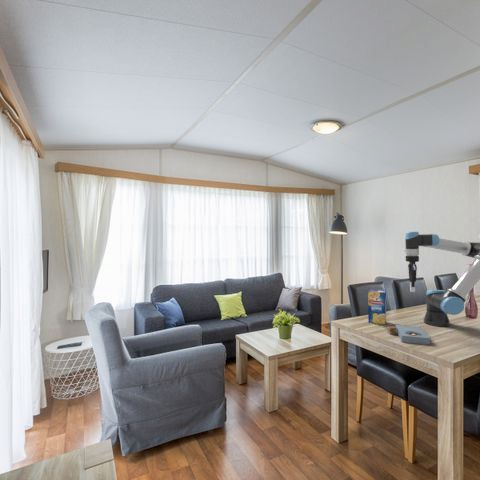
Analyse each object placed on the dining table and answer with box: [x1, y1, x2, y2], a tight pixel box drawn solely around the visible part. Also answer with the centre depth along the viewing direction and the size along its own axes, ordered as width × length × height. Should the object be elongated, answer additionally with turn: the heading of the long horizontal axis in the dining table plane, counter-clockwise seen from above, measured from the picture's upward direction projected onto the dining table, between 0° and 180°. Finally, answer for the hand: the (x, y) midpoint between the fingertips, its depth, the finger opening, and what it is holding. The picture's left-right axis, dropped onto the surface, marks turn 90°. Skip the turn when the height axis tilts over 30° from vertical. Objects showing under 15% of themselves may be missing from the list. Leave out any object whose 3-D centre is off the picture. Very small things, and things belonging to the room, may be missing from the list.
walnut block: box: [386, 325, 398, 336], centre depth 188 cm, size 4×4×4 cm
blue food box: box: [367, 289, 387, 325], centre depth 212 cm, size 7×11×22 cm, turn 61°
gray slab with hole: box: [394, 324, 431, 345], centre depth 181 cm, size 22×14×4 cm, turn 161°
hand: (412, 291), depth 196 cm, fingers closed
